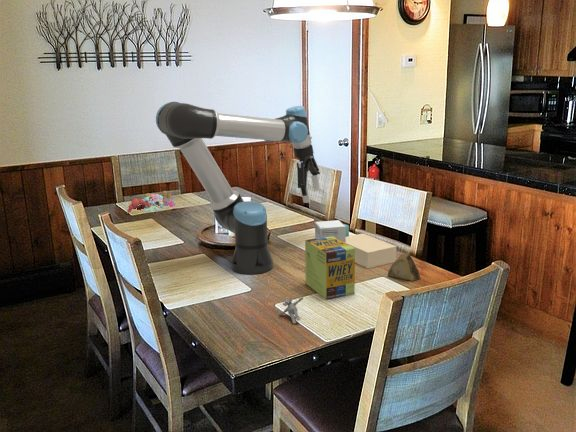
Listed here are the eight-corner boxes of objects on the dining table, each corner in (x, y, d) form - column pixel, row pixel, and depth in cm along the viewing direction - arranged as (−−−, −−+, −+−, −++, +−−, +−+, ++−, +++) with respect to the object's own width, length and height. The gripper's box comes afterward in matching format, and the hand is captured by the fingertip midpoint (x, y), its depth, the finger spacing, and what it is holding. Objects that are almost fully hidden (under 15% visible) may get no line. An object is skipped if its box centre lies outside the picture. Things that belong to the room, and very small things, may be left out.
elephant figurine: (278, 326, 157) (271, 306, 164) (289, 334, 160) (282, 314, 167) (303, 307, 155) (295, 288, 162) (314, 316, 159) (306, 296, 165)
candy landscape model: (133, 206, 302) (131, 189, 300) (177, 204, 305) (175, 187, 302) (125, 218, 278) (123, 200, 276) (173, 215, 281) (171, 197, 278)
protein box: (326, 300, 174) (325, 252, 170) (305, 283, 188) (304, 239, 184) (355, 294, 178) (355, 247, 174) (332, 278, 192) (332, 235, 188)
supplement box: (346, 272, 197) (346, 226, 192) (320, 274, 195) (320, 228, 191) (339, 263, 206) (339, 219, 201) (315, 265, 204) (314, 221, 200)
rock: (379, 270, 192) (397, 275, 183) (389, 249, 193) (408, 253, 185) (399, 283, 196) (418, 288, 188) (408, 262, 198) (427, 266, 190)
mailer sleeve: (395, 261, 206) (396, 246, 204) (367, 268, 200) (367, 252, 198) (363, 247, 223) (363, 233, 221) (336, 253, 217) (336, 238, 215)
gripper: (301, 154, 207) (311, 207, 215) (320, 136, 229) (329, 184, 236) (282, 156, 210) (293, 208, 218) (303, 138, 231) (312, 186, 239)
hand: (312, 196), depth 227 cm, fingers open, 13 cm apart
